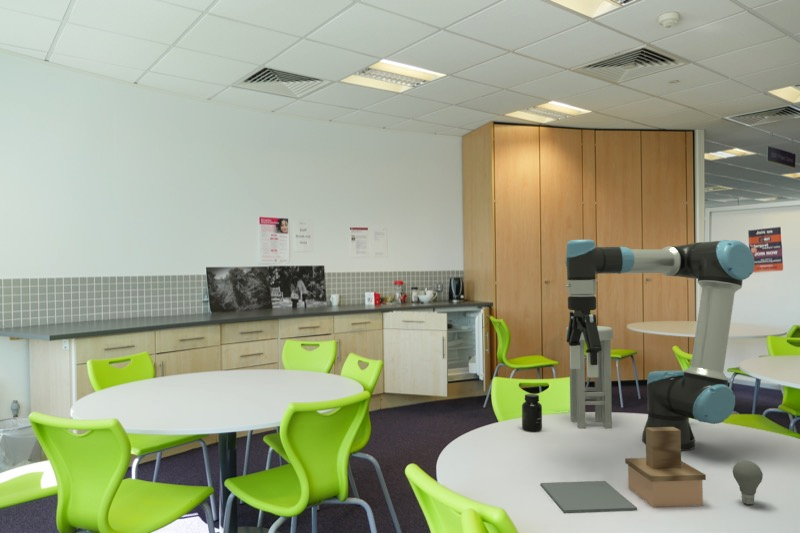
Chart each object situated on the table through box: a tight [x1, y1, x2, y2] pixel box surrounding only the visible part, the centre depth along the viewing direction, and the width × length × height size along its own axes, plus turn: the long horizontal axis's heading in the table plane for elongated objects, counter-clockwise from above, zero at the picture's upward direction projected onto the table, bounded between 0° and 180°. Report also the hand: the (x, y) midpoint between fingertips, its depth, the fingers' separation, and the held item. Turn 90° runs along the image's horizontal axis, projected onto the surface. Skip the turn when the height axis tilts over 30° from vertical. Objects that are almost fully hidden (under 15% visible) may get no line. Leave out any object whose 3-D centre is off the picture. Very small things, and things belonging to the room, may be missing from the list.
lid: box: [624, 427, 707, 482], centre depth 137 cm, size 13×13×10 cm
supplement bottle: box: [521, 393, 543, 433], centre depth 196 cm, size 7×7×12 cm
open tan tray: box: [627, 465, 704, 508], centre depth 136 cm, size 12×12×6 cm
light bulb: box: [732, 459, 764, 505], centre depth 132 cm, size 6×6×10 cm
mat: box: [540, 480, 638, 514], centre depth 136 cm, size 17×17×1 cm
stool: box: [565, 325, 614, 430], centre depth 203 cm, size 16×16×35 cm
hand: (583, 372), depth 155 cm, fingers open, 13 cm apart
